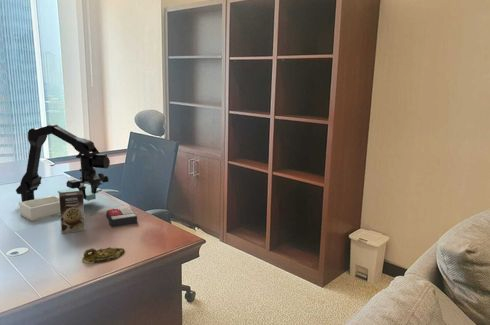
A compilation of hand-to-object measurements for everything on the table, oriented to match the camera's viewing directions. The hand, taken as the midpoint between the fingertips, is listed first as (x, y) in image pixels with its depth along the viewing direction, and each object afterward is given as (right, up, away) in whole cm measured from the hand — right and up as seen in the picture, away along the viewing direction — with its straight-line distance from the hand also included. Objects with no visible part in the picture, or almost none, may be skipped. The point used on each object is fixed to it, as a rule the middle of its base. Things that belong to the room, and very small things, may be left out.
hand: (89, 198), depth 184 cm
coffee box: (+3, -11, -24) cm, 27 cm away
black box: (+20, -9, -12) cm, 25 cm away
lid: (-5, +1, +4) cm, 6 cm away
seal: (+25, -17, -47) cm, 56 cm away
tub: (-18, -7, -7) cm, 21 cm away
